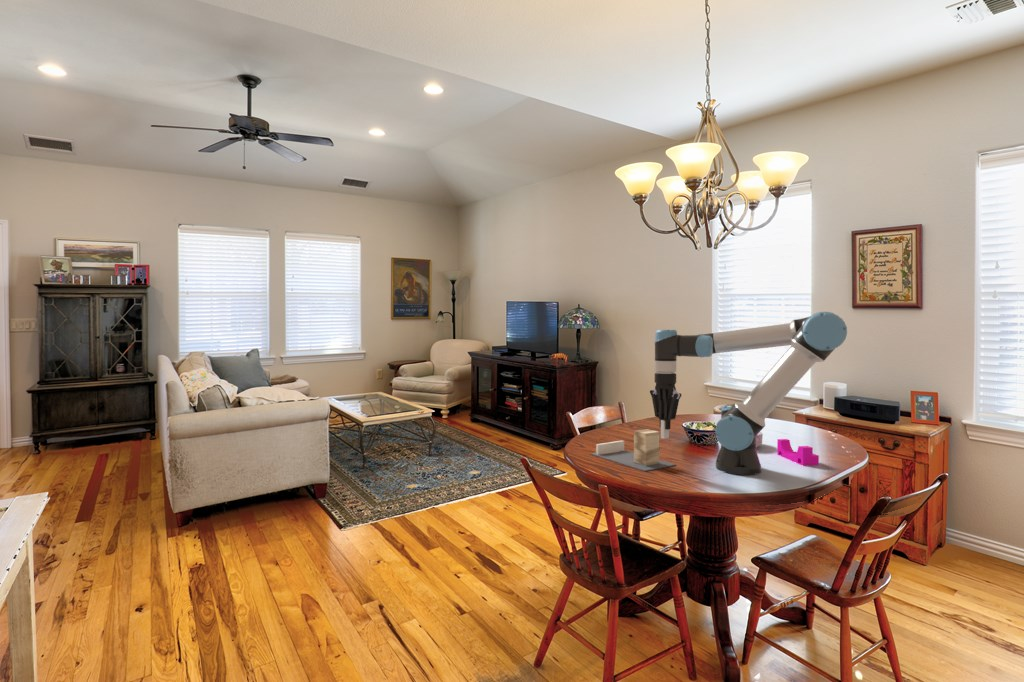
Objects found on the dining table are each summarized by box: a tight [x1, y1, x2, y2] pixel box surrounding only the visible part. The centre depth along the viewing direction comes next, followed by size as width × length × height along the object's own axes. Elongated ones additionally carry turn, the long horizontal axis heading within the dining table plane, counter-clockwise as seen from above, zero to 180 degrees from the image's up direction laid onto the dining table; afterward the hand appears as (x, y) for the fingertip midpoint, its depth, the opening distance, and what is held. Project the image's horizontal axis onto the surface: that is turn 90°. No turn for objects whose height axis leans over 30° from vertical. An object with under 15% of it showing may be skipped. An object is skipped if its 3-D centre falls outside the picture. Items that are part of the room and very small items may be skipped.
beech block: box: [633, 428, 660, 466], centre depth 198 cm, size 6×7×12 cm
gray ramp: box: [589, 449, 677, 472], centre depth 205 cm, size 30×16×1 cm, turn 31°
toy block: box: [776, 438, 820, 467], centre depth 201 cm, size 15×6×8 cm, turn 7°
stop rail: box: [595, 440, 625, 455], centre depth 215 cm, size 1×14×4 cm, turn 121°
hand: (664, 437), depth 190 cm, fingers closed
